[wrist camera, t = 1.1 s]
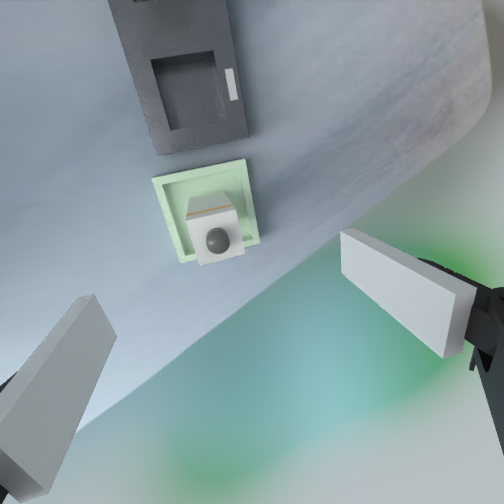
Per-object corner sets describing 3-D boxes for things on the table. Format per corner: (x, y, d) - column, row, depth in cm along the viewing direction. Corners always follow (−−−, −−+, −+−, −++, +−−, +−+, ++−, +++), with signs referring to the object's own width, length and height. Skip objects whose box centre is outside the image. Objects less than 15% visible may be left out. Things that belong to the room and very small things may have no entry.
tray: (181, 257, 31) (180, 263, 29) (154, 176, 27) (151, 178, 25) (256, 238, 32) (260, 243, 30) (242, 158, 28) (245, 159, 26)
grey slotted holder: (161, 154, 26) (157, 155, 23) (85, -93, 19) (61, -144, 16) (242, 138, 27) (249, 137, 24) (200, -101, 20) (201, -150, 17)
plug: (198, 231, 29) (199, 272, 19) (188, 198, 28) (184, 224, 18) (230, 223, 30) (248, 259, 20) (223, 190, 28) (238, 212, 18)
